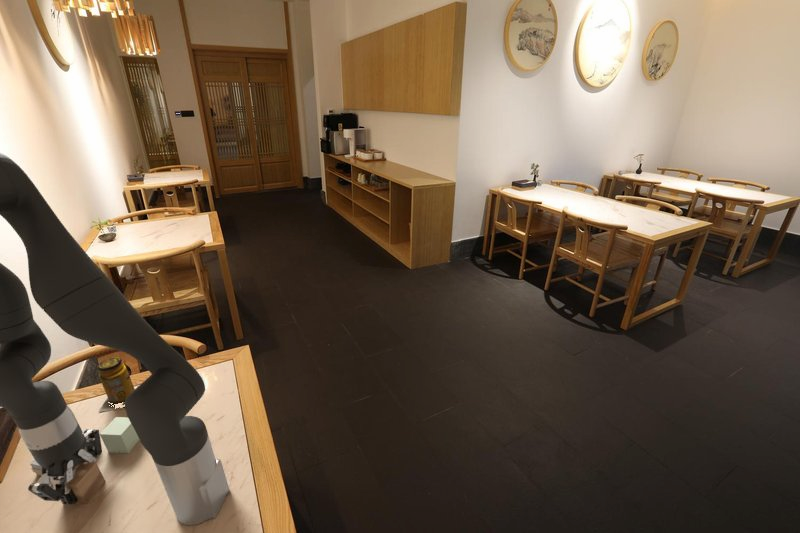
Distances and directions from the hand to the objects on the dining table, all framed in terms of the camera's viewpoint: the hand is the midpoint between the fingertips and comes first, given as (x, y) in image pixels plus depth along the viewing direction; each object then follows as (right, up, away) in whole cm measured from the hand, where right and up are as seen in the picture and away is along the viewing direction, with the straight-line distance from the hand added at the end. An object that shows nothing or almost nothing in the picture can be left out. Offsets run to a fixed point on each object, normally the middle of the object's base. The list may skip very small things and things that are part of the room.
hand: (83, 488), depth 78 cm
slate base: (-9, +2, +7) cm, 12 cm away
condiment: (-11, +10, +24) cm, 29 cm away
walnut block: (0, -1, 0) cm, 1 cm away
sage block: (+1, +4, +11) cm, 12 cm away
